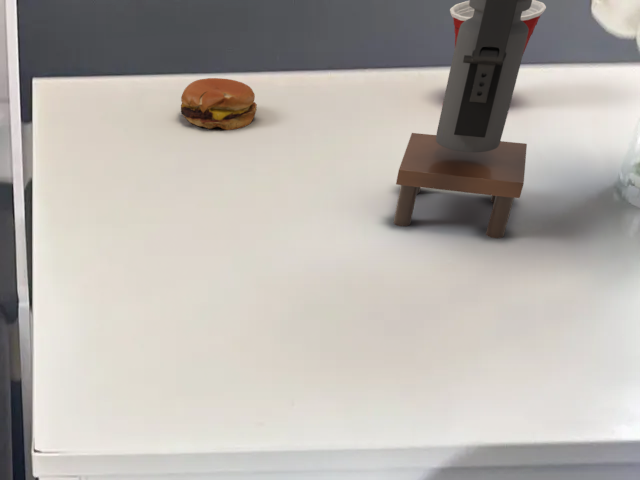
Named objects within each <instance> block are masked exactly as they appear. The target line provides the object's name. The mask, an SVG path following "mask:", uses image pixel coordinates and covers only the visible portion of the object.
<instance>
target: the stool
mask: <svg viewBox="0 0 640 480" xmlns="http://www.w3.org/2000/svg"><path fill="white" fill-rule="evenodd" d="M436 135H437V134H428V133H419V132H418V133H417V132H411V134H410V138H409V140H408V143H407V145H406V148H405V151H404V153H403V157H402V159H401V161H400V165H399V168H398V172H397V177H396V183H395V184H396V185H397V186H400V187H399V191H398V192H399V193H398V196H397V197H398V198H397V202H396V208H395V211H394V217H393V225H395V226H397V227H410V225H411V223H412V218H413V213H414V209H415V204H416V199H417V195H418V194H420V193H421V189H422V188H423V189H431V190H440V191H441V190H442V191H450V192H458V193H467V194H477V195H486V196H491V198H490V203H492V208H491V212H490V216H489V219H488V224H487V228H486V231H485V235H486V236H487V237H488V238H491V239H502V238H504V236H505V233H506V230H507V229H506V228H507V225H508V221H509V219H510V214H511V210H512V206H513V203H514V199H520V198H521V195H522V191H523V187H524V184H525V175H526V159H527V158H526V157H527V146H528V144H527V143H526V142H525V143H524V142H514V141H513V142H512V141H502V140H500V144H499V146H498V147H497V148H496V149H494V150H490V151H486V152H463V151H456V150H452V149H448V148H445V147H443V146H441V145H440V144H438V143H437V142H436Z"/></svg>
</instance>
